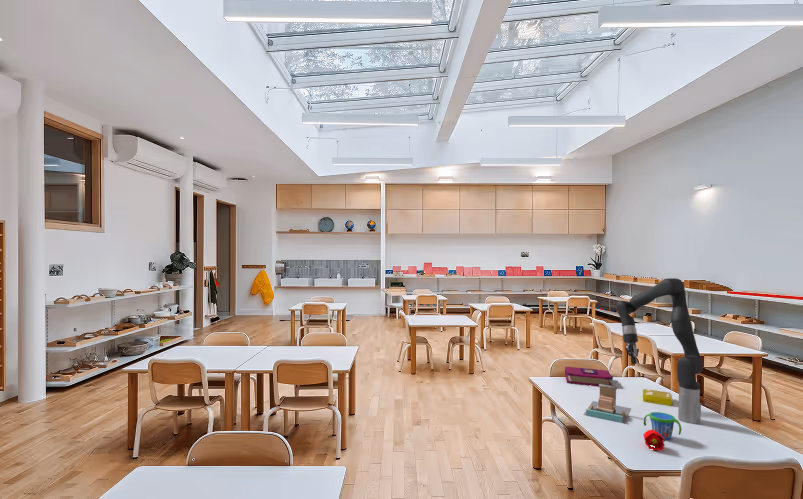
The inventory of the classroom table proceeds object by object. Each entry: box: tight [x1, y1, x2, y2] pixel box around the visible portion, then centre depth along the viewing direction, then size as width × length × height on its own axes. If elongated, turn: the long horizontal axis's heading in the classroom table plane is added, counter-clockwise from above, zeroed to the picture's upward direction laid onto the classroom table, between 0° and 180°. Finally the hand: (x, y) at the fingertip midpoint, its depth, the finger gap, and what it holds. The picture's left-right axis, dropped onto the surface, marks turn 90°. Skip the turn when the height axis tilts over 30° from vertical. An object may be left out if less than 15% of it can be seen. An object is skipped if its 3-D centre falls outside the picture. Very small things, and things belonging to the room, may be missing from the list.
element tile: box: [642, 388, 673, 407], centre depth 266 cm, size 15×15×5 cm
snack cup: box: [643, 411, 683, 440], centre depth 212 cm, size 16×10×10 cm
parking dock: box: [583, 400, 632, 425], centre depth 243 cm, size 28×20×4 cm
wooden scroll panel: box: [596, 384, 618, 414], centre depth 239 cm, size 11×9×14 cm
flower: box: [643, 429, 666, 451], centre depth 200 cm, size 8×8×8 cm
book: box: [564, 366, 614, 387], centre depth 303 cm, size 21×28×8 cm
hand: (634, 364), depth 258 cm, fingers closed
